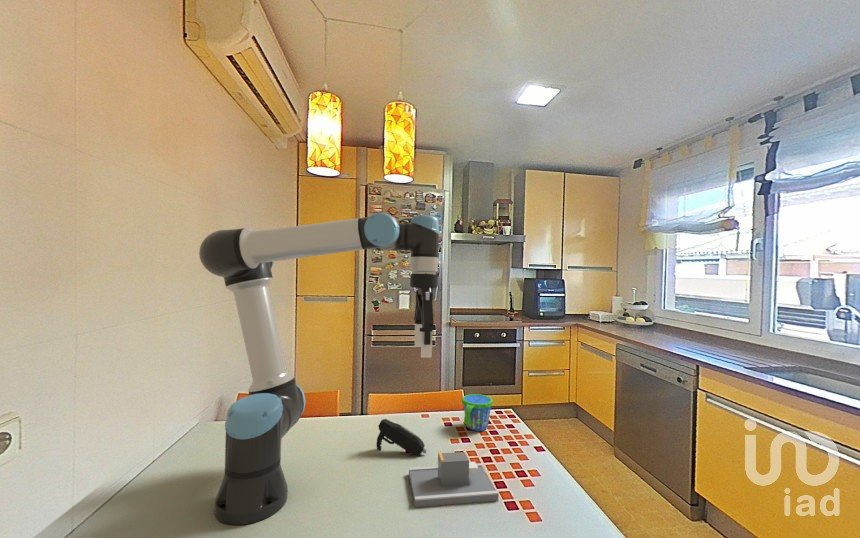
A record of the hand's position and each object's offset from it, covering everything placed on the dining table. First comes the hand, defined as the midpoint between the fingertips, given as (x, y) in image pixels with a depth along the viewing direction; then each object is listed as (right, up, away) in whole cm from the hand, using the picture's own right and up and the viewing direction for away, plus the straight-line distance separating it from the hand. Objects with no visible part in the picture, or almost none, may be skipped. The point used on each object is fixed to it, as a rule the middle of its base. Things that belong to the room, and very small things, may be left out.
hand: (422, 351), depth 100 cm
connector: (+9, -31, -6) cm, 33 cm away
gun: (-7, -33, +11) cm, 36 cm away
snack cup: (+19, -34, +31) cm, 49 cm away
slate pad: (+7, -33, -6) cm, 34 cm away
